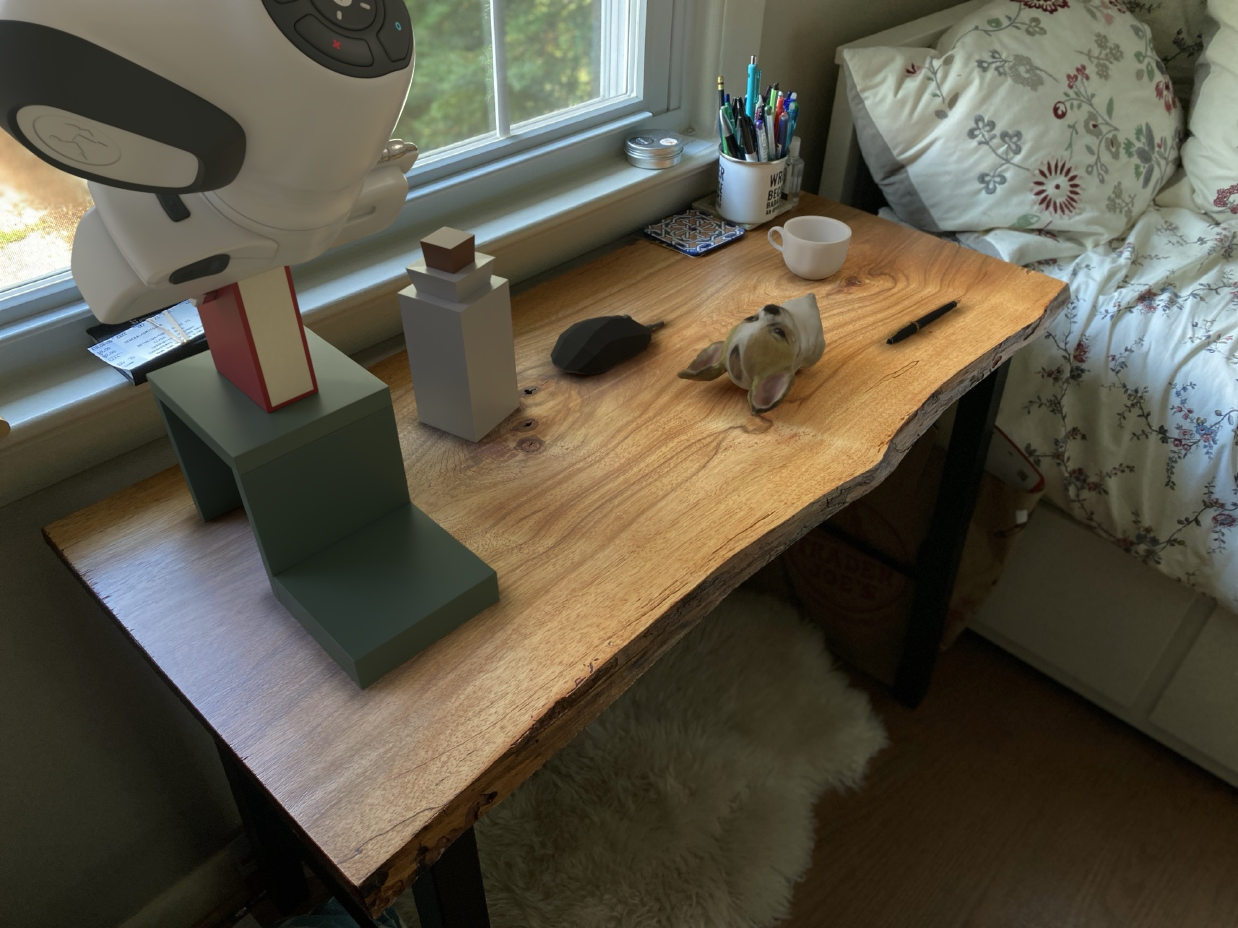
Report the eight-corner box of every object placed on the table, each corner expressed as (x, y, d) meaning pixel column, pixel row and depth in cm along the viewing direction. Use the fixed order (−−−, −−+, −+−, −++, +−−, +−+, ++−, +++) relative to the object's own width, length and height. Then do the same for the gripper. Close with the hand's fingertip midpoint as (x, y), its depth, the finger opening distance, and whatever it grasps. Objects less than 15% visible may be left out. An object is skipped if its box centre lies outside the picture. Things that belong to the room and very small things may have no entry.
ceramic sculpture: (861, 296, 88) (762, 364, 81) (851, 371, 94) (757, 441, 86) (771, 261, 94) (671, 321, 87) (767, 334, 100) (672, 396, 92)
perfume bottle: (476, 443, 85) (454, 262, 74) (419, 421, 88) (389, 244, 77) (519, 406, 90) (504, 231, 79) (463, 386, 92) (441, 214, 81)
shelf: (361, 690, 63) (320, 540, 55) (198, 515, 77) (145, 374, 69) (500, 599, 70) (483, 452, 61) (326, 454, 84) (292, 317, 75)
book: (268, 414, 65) (214, 223, 56) (215, 369, 69) (158, 186, 60) (319, 391, 67) (275, 205, 58) (265, 349, 71) (216, 170, 63)
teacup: (854, 267, 113) (861, 225, 109) (829, 292, 108) (836, 249, 104) (779, 247, 117) (783, 206, 113) (751, 271, 112) (755, 229, 108)
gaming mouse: (683, 335, 100) (685, 302, 98) (578, 387, 92) (577, 352, 90) (643, 314, 104) (643, 281, 101) (538, 361, 96) (536, 328, 94)
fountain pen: (956, 302, 106) (959, 290, 105) (965, 306, 105) (968, 294, 104) (880, 346, 98) (882, 334, 97) (889, 351, 98) (892, 338, 97)
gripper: (400, 90, 58) (345, 197, 69) (53, 180, 46) (57, 290, 58) (451, 180, 58) (388, 272, 69) (119, 291, 47) (110, 378, 58)
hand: (235, 281), depth 64 cm, fingers closed on book, 4 cm apart
